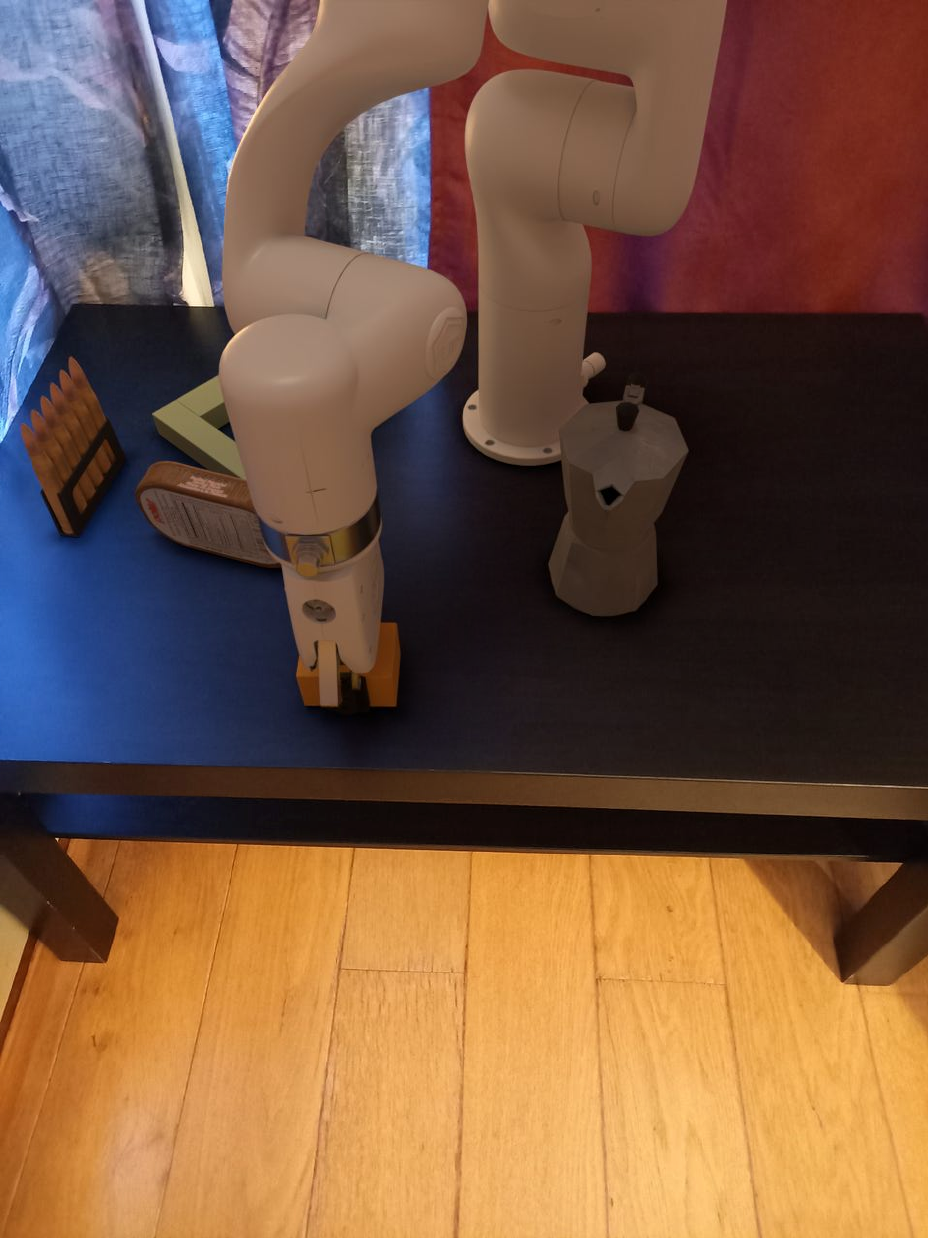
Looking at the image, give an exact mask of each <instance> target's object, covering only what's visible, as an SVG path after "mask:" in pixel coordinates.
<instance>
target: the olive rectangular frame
mask: <svg viewBox="0 0 928 1238" xmlns="http://www.w3.org/2000/svg"><path fill="white" fill-rule="evenodd" d="M151 415H152V418H153V421H154V424H155V427H156V429H157V432H158V435H160V436H161V437H163V438H164V439H165V440H167V441H168V442H169V443H170V444H172V445H173V446H175V447H176V448H177V449H179V451H182V452H183V453H184V454H186V455H187V456H188V457H189V458H191V459H192V460H194V461H195V462H197V463H198V464H199V465H201V466H202V467H204V468H205V470H208V471H212V472H216V473H220V474H224V475H228V476H232V477H236V478H240V479H244V480H246V477H245V473H244V470H243V466H242V462H241V459H240V455H239V452H238V448H237V445H236V441H235V440H233V439H232V438H231V437H229V436H227V435H226V434H225V433H224V432H222V431H221V430H219V429H220V428H222V427H224V426H225V425H227V424H228V423H230V420H229V417H228V413H227V410H226V406H225V403H224V399H223V396H222V391H221V386H220V382H219V374H217V375H216V376H214V377H213V378H211V379H209V380H207V381H206V382H204V383H202V384H201V385H199V386H197V387H195V388H193V389H192V390H190V391H188V392H187V393H185V394H183V395H181V396H180V397H178V398H177V399H174V400H173V401H171V402H170V403H168V404H166V405H164V406H162V407H161V408H160V409H158V410H156V411H154V412H152V413H151Z"/></svg>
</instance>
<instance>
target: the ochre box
mask: <svg viewBox="0 0 928 1238" xmlns="http://www.w3.org/2000/svg"><path fill="white" fill-rule="evenodd" d="M401 653H402V652H401V644H400V638H399V629H398V624H397V623H396V622H380V631H379V640H378V648H377V656H376V662H375V665H374V667H373V668H372V669H371V670H370V671H369V672H368V673H360V675H361V676H363V677H365V678H366V684H367V689H368V694H369V700H370V707H390V708H391V707H392V708H393V707H394V708H395V707H397V702H398V690H399V689H398V688H399V678H400V666H401ZM340 672H350V669H349V668H348V667H347V666H346V665H340ZM295 673H296V674H295V678H296V681H297V684H298V688H299V691H300V695H301V698H302V702H303V705H304V706H307V707H311V706H312V707H321V706H320V691H319V673H318V665H317V667H316V669H314V670H313V672H310V671H309V670H308V669H306V667H305V666H304V664H303V663H302V660H301V658H300V655H298V661H297V667H296V672H295Z"/></svg>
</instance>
